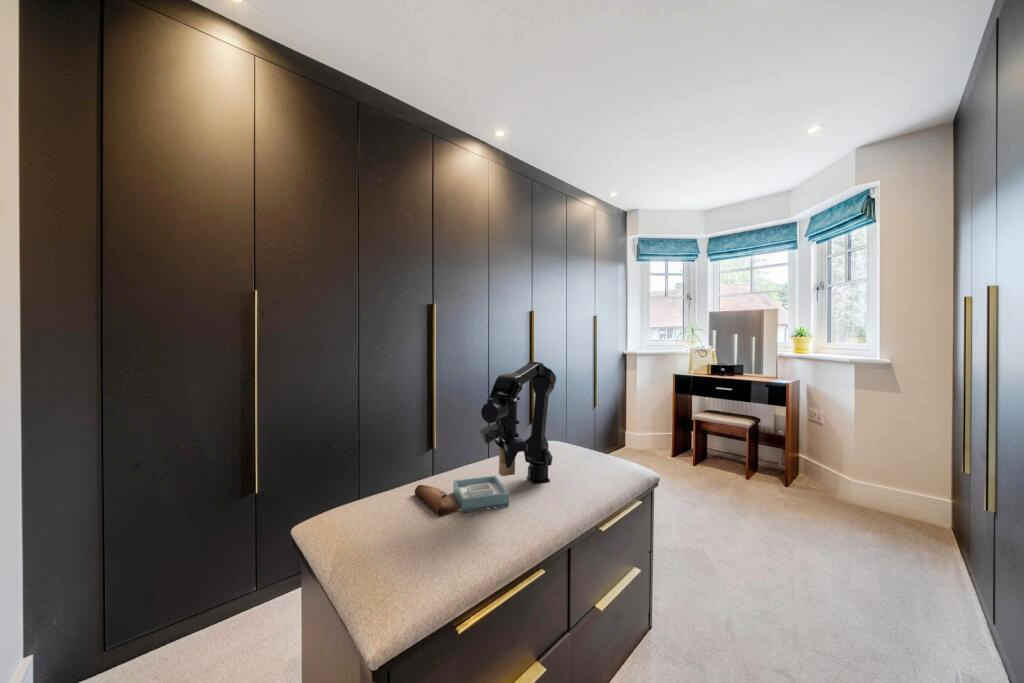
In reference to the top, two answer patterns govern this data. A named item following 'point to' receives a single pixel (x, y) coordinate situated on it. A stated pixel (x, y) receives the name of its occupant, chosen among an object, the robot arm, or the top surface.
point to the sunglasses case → (436, 500)
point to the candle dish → (480, 493)
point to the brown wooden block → (502, 465)
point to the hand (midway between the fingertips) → (506, 466)
